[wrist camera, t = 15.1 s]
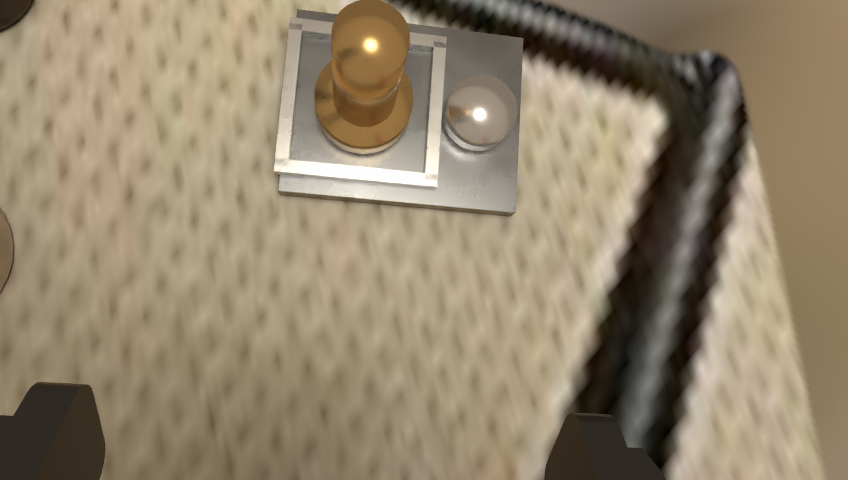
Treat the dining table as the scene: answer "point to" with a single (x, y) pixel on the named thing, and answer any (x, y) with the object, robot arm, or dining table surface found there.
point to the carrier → (411, 124)
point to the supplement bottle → (12, 11)
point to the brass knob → (365, 79)
